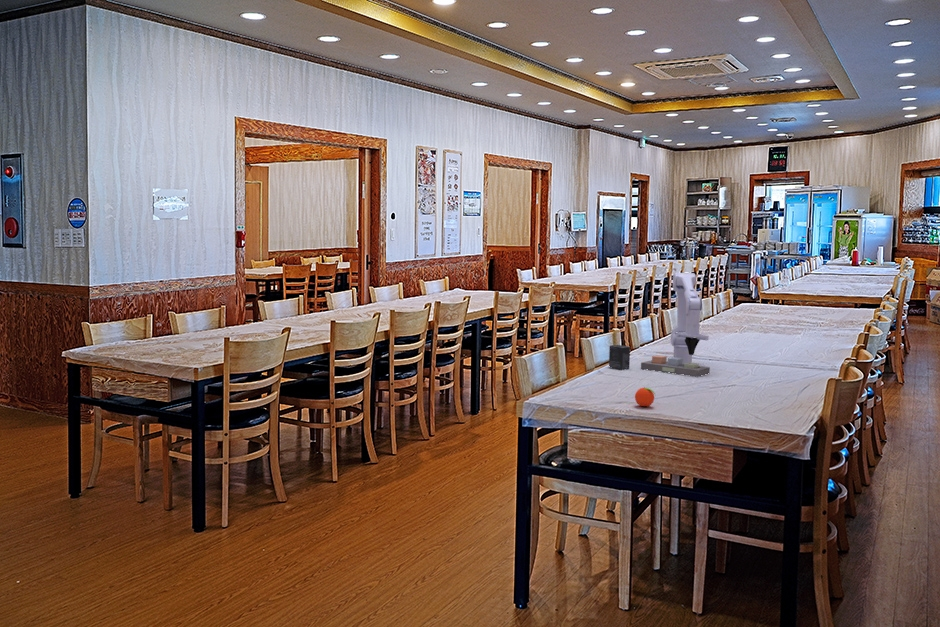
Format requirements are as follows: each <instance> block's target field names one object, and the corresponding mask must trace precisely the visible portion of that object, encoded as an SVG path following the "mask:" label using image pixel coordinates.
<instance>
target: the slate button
mask: <svg viewBox="0 0 940 627" xmlns="http://www.w3.org/2000/svg"><path fill="white" fill-rule="evenodd" d="M667 362H668V365H671V366H682V362H683V358H675V357H673V356H672V357H669V358H668V357H667Z"/></svg>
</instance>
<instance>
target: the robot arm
mask: <svg viewBox="0 0 940 627" xmlns="http://www.w3.org/2000/svg"><path fill="white" fill-rule="evenodd" d="M672 275H673V276H672V290H673V291H674V292H676V297H677V298H676V300H677V302H676V303H677V304H676V305H677V306H676V307H677V308H676V312H677V313H676V316H677V320H676V324H677V325H676V326H675V327H673V329H672V330H671V332H670V334H671V335H670V345H671V346H673V356H672V357H675V358H683V362H682V364H685V363H693V362H692V361H693V355H695V352H696V351H695V350H696V348H697V346H698V344H699V343H700V341H701V340H702V341H709V335H704V334H700V323H701V322H700V320H701V312H702V308H703V300H702V297H699V294H698V292H697V290H696V289H695V288H694V287H695V285H696V283H697V282H696V281H697V279H696V277H697V276H696V274H695V273H694V272H689V273H688V272H674V273H673V274H672Z"/></svg>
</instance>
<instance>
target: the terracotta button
mask: <svg viewBox="0 0 940 627" xmlns="http://www.w3.org/2000/svg"><path fill="white" fill-rule="evenodd" d="M651 360H652V363H656V364H665V363H666V362H667V361H668V357H667V356H666V355H660V354H659V355H658V354H656V355H653V356H651Z"/></svg>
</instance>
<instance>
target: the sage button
mask: <svg viewBox="0 0 940 627" xmlns="http://www.w3.org/2000/svg"><path fill="white" fill-rule="evenodd" d="M699 366H700V364H699V363H696V362H692V363H685V364H684V367H686V368H693V369H696V368H699Z"/></svg>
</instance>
